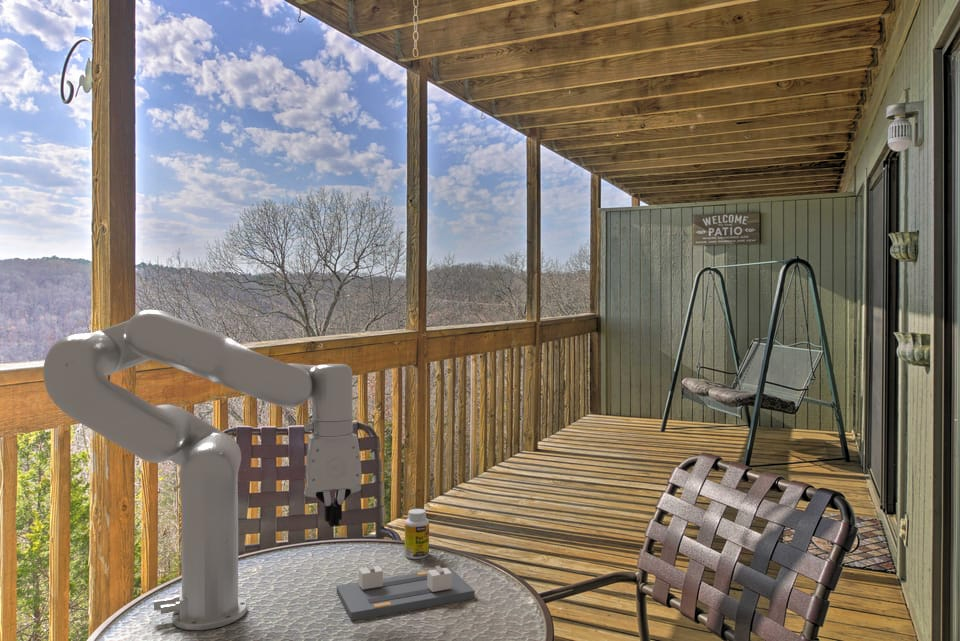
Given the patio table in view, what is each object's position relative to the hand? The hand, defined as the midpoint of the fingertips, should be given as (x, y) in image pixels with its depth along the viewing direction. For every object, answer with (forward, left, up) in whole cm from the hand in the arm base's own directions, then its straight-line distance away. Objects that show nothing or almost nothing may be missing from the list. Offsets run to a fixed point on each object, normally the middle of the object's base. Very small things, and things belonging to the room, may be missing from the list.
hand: (333, 524), depth 126 cm
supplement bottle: (+22, +17, -15) cm, 32 cm away
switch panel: (+13, -3, -15) cm, 20 cm away
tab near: (+19, -6, -13) cm, 24 cm away
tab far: (+7, 0, -13) cm, 15 cm away
